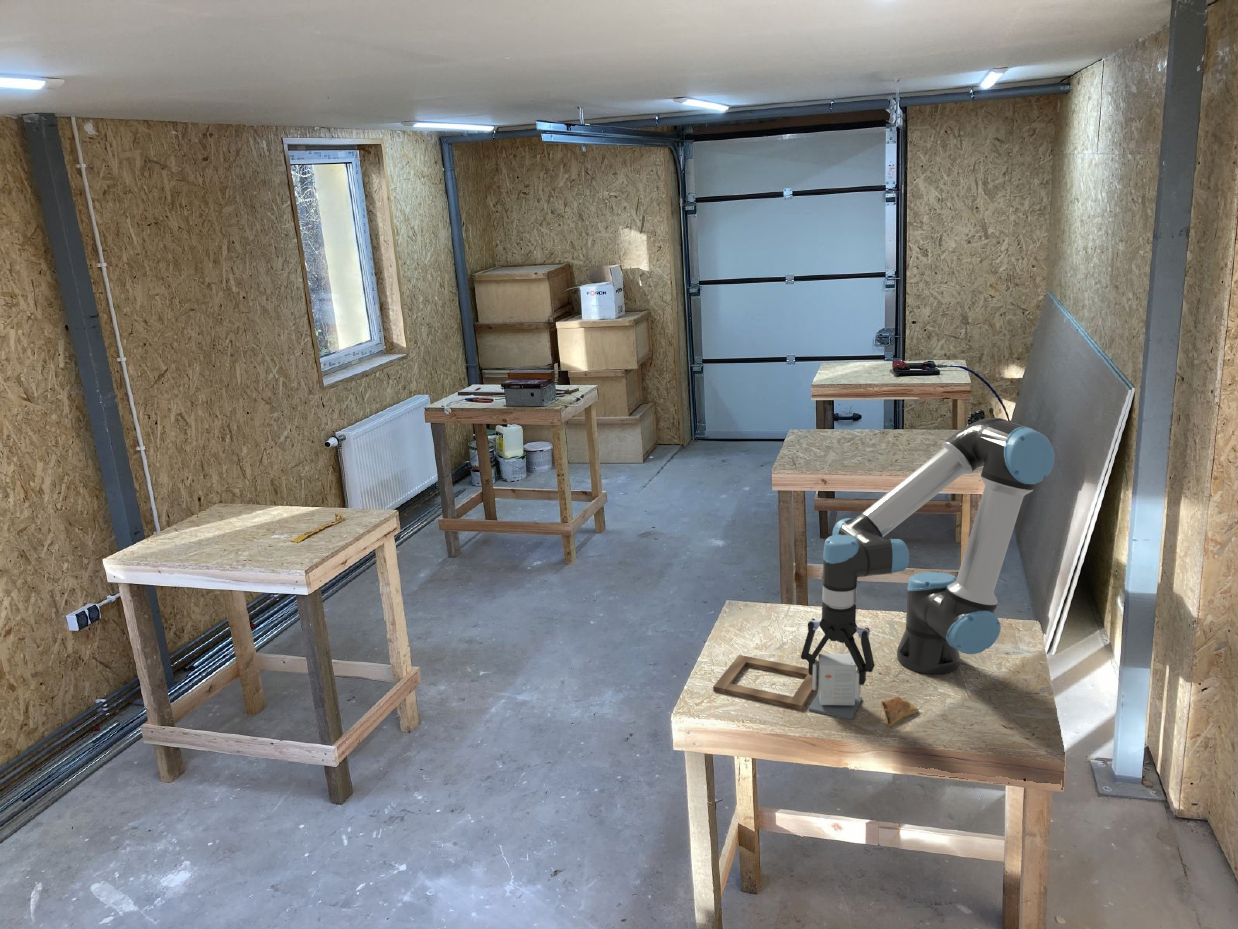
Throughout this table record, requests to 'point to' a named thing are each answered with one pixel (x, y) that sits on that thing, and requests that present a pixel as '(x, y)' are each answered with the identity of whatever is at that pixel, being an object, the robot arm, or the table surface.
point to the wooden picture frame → (734, 671)
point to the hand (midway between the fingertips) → (836, 691)
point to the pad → (835, 708)
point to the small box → (836, 679)
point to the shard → (897, 710)
